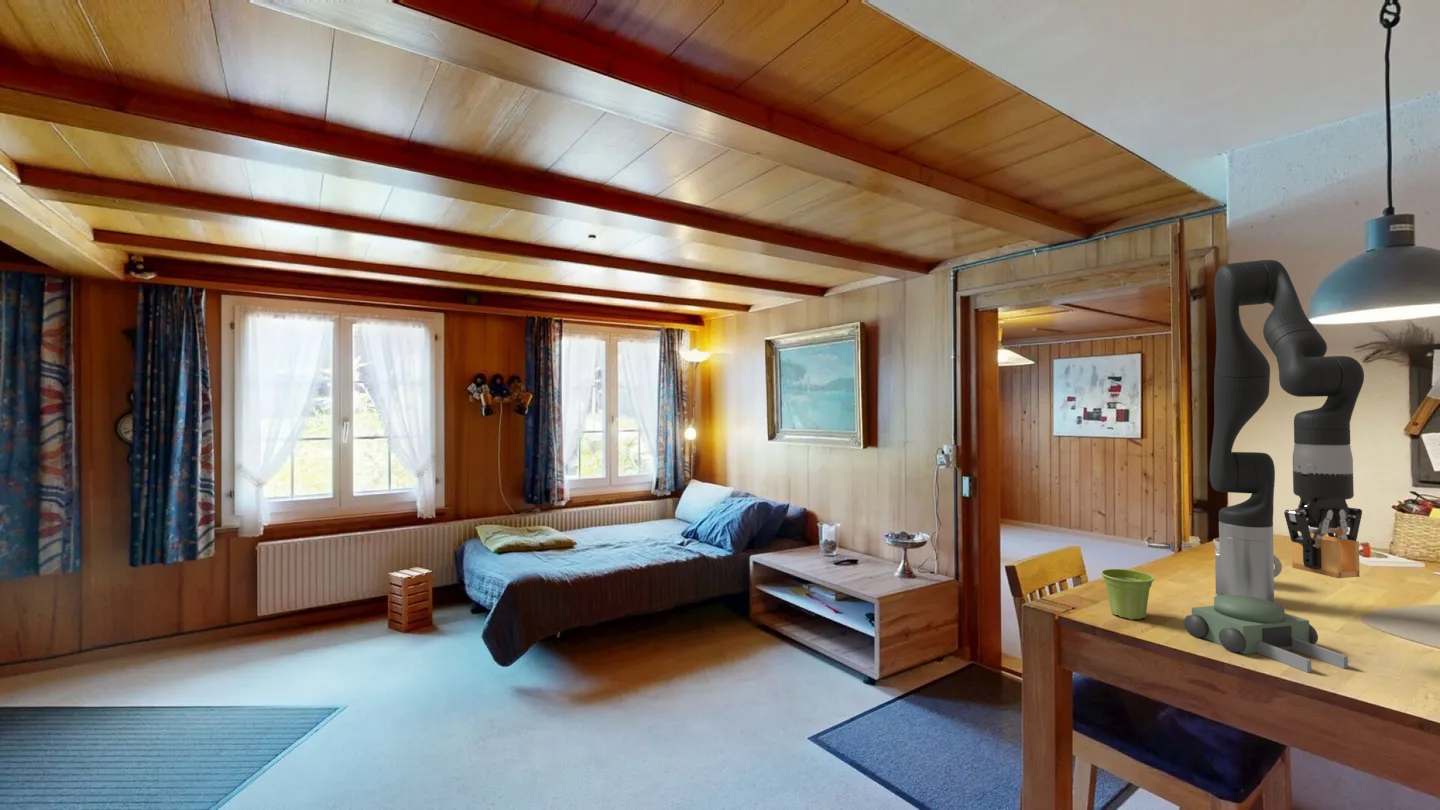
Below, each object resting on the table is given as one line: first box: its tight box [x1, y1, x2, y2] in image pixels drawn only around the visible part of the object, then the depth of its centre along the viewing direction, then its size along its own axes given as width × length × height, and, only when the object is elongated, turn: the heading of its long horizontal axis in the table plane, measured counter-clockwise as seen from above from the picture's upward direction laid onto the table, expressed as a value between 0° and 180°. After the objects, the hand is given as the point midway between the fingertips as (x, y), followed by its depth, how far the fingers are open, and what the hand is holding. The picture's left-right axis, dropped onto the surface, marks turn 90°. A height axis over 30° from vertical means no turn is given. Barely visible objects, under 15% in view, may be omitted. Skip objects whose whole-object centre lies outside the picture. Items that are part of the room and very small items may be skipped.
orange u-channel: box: [1291, 534, 1361, 579], centre depth 106 cm, size 7×4×6 cm, turn 10°
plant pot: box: [1100, 568, 1155, 620], centre depth 128 cm, size 9×9×9 cm
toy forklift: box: [1183, 594, 1349, 673], centre depth 110 cm, size 18×16×7 cm
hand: (1324, 566), depth 106 cm, fingers closed on orange u-channel, 4 cm apart
